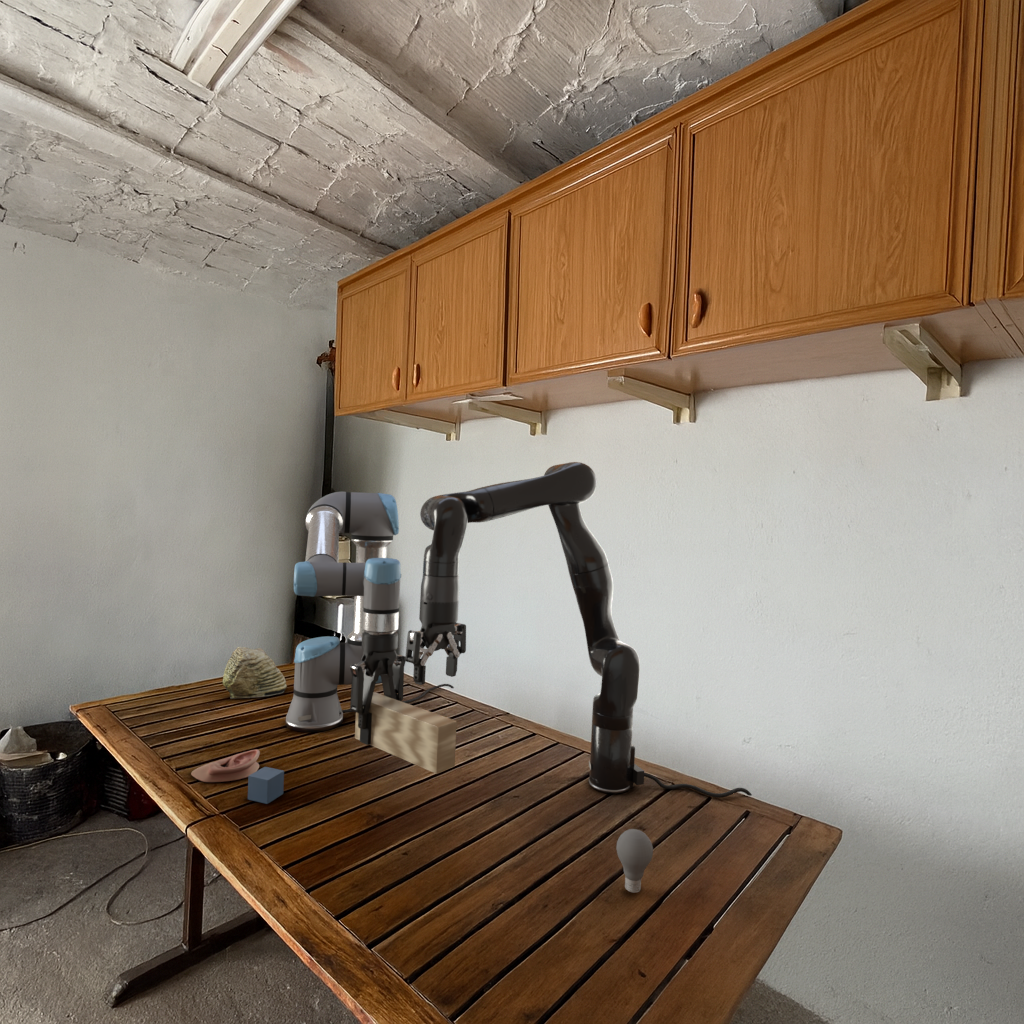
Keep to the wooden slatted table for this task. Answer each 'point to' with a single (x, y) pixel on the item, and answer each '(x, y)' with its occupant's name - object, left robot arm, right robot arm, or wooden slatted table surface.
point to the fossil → (252, 674)
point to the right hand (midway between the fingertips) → (435, 679)
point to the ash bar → (412, 733)
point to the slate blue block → (265, 785)
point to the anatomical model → (229, 768)
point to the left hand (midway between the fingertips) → (376, 739)
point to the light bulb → (634, 857)
